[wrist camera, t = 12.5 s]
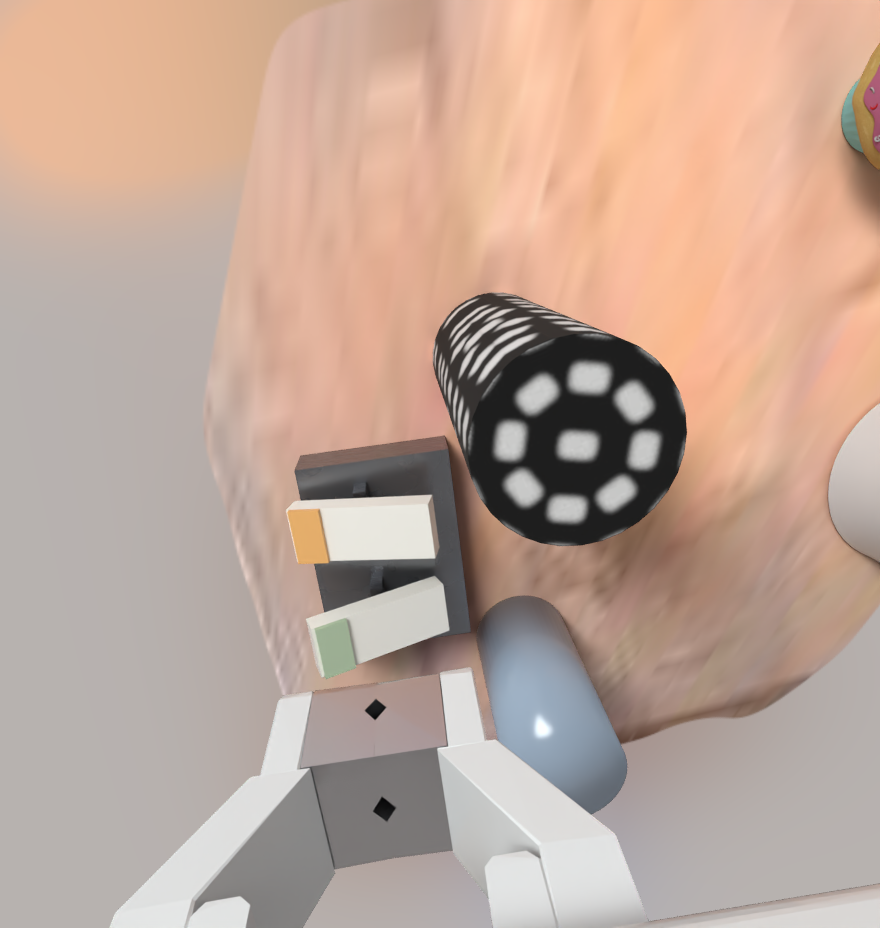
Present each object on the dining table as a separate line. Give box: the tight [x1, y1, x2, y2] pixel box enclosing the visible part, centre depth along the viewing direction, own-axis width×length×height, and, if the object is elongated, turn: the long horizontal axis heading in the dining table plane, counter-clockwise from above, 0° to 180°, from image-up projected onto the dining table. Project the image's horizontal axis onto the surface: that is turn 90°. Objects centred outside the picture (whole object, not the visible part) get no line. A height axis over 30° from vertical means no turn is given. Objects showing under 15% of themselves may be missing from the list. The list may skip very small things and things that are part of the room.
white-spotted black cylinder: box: [433, 293, 687, 546], centre depth 33 cm, size 8×8×20 cm
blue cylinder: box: [476, 596, 627, 814], centre depth 43 cm, size 7×7×14 cm
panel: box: [295, 436, 471, 638], centre depth 44 cm, size 10×14×5 cm
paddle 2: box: [306, 576, 449, 679], centre depth 42 cm, size 9×4×2 cm, turn 97°
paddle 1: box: [286, 495, 439, 564], centre depth 40 cm, size 9×4×2 cm, turn 97°
